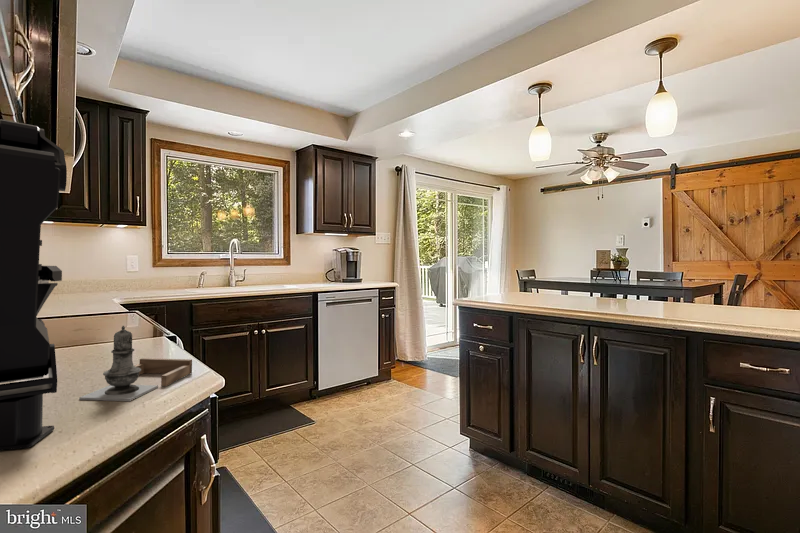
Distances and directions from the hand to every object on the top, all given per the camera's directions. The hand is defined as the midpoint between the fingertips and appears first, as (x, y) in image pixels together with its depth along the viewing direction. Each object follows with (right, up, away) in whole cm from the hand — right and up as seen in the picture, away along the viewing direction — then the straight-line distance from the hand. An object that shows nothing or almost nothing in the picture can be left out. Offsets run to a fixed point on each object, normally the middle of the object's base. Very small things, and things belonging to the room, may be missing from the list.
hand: (11, 328), depth 68 cm
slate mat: (+12, -13, +8) cm, 20 cm away
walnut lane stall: (+12, -13, +18) cm, 26 cm away
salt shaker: (+12, -13, +9) cm, 20 cm away
